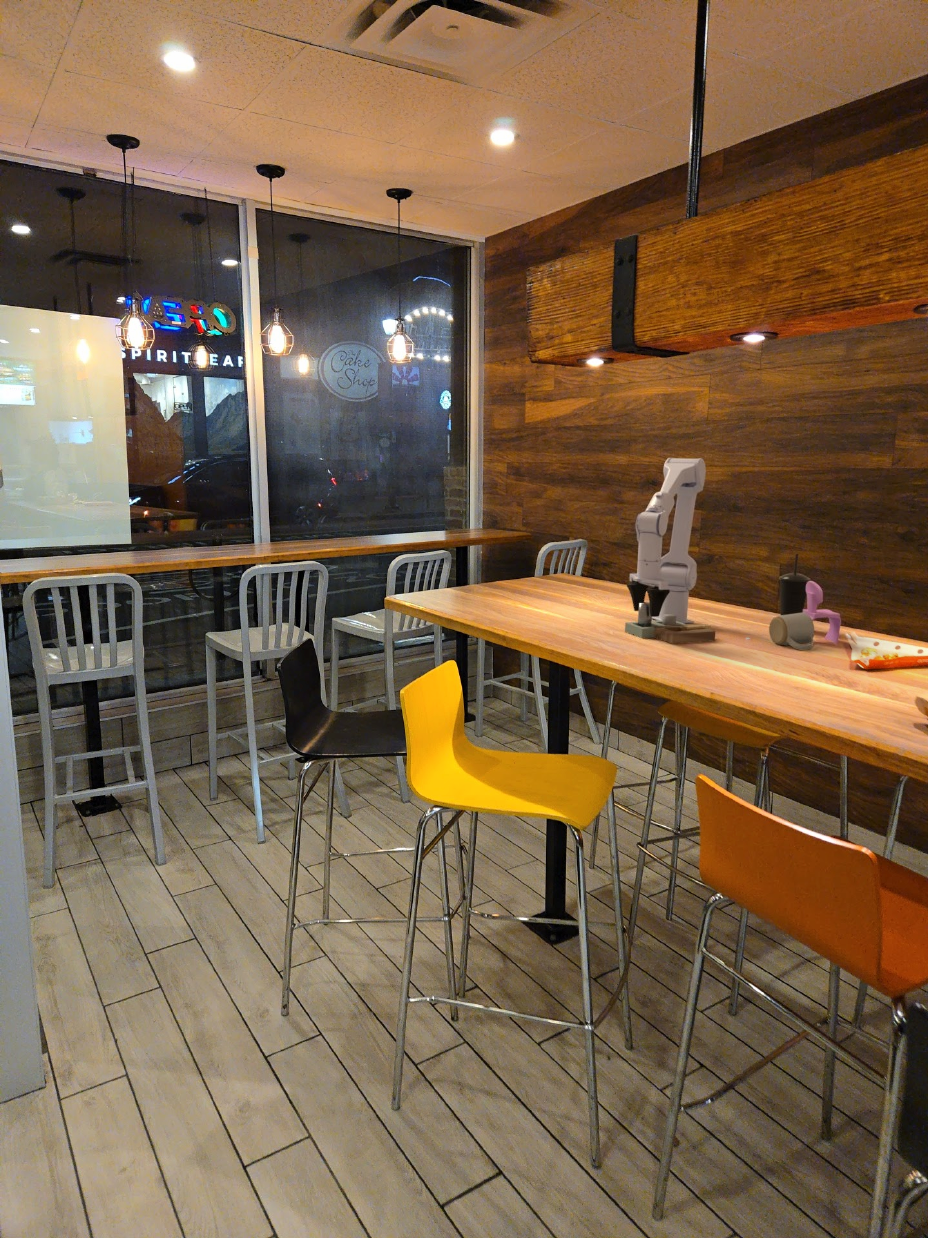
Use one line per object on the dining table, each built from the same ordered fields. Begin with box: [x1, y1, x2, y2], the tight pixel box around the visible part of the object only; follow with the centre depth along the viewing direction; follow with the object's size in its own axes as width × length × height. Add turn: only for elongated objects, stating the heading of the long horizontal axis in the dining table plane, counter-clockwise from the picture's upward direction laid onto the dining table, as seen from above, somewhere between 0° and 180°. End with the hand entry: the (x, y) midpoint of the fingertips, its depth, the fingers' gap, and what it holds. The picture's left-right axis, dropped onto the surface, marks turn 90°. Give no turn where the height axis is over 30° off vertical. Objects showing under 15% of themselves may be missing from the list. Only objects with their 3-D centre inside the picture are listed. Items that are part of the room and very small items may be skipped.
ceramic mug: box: [768, 613, 815, 651], centre depth 202 cm, size 11×8×8 cm
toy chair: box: [803, 580, 842, 644], centre depth 207 cm, size 8×9×15 cm
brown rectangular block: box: [682, 623, 712, 631], centre depth 210 cm, size 2×7×3 cm, turn 110°
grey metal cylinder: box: [637, 601, 653, 627], centre depth 212 cm, size 3×3×8 cm
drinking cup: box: [778, 553, 811, 616], centre depth 221 cm, size 8×8×20 cm
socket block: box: [651, 623, 716, 645], centre depth 209 cm, size 10×12×2 cm
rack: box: [624, 614, 687, 639], centre depth 214 cm, size 8×14×4 cm, turn 110°
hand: (646, 613), depth 212 cm, fingers open, 7 cm apart
